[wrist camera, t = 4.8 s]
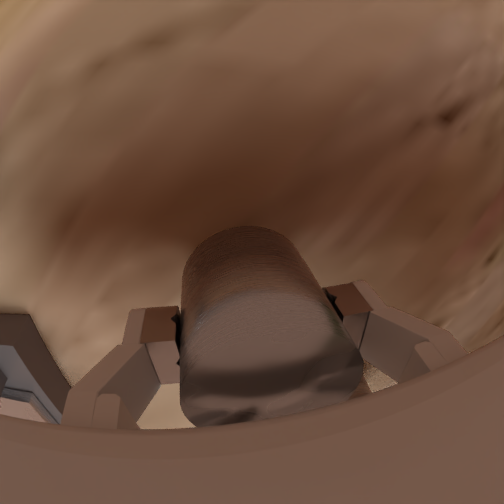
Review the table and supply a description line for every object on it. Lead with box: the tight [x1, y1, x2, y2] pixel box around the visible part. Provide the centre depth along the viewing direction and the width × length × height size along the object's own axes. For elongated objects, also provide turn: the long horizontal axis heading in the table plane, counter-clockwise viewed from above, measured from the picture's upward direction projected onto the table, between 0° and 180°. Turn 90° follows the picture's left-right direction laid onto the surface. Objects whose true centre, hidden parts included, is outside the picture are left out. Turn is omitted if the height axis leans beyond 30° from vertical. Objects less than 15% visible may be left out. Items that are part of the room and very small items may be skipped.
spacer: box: [180, 226, 363, 427], centre depth 9 cm, size 4×4×5 cm
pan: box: [0, 388, 58, 424], centre depth 14 cm, size 13×12×1 cm
